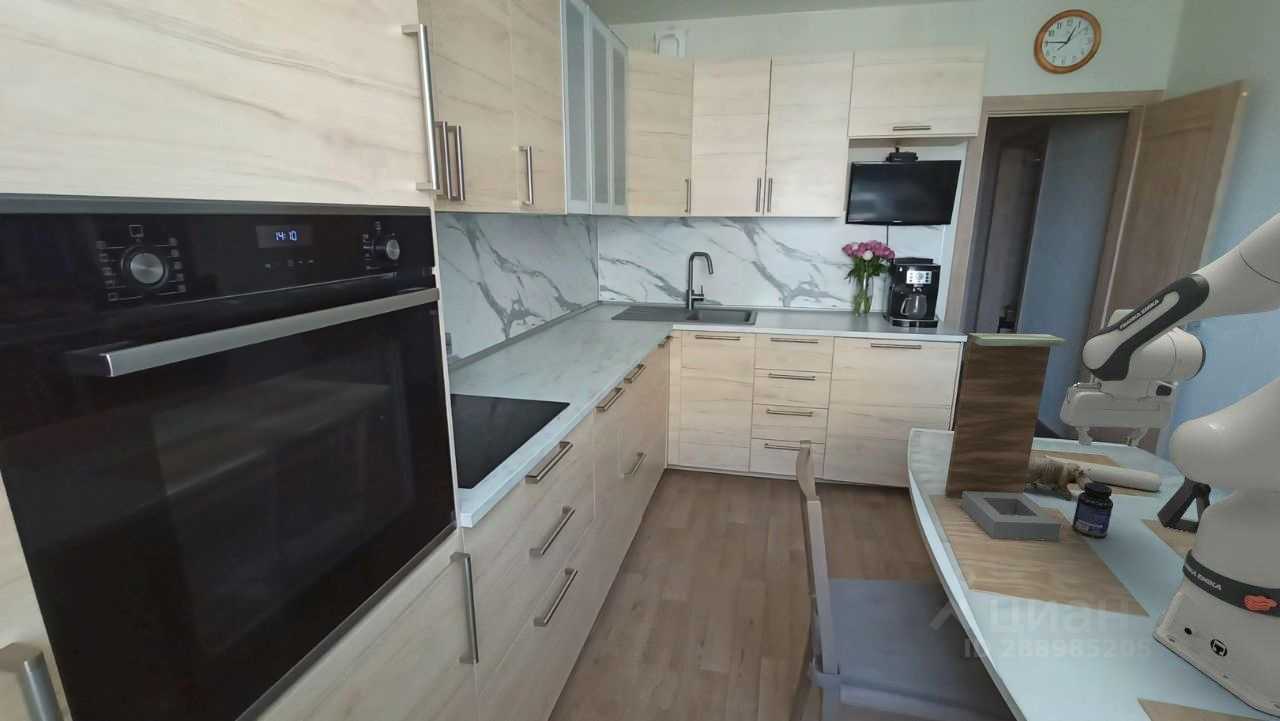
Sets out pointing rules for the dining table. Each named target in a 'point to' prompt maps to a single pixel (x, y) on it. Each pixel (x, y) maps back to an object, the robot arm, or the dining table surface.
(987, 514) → the socket block
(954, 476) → the wood grain plank
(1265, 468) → the robot arm
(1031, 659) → the dining table surface
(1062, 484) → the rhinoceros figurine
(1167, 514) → the phone stand
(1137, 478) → the tube
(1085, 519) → the pill bottle
